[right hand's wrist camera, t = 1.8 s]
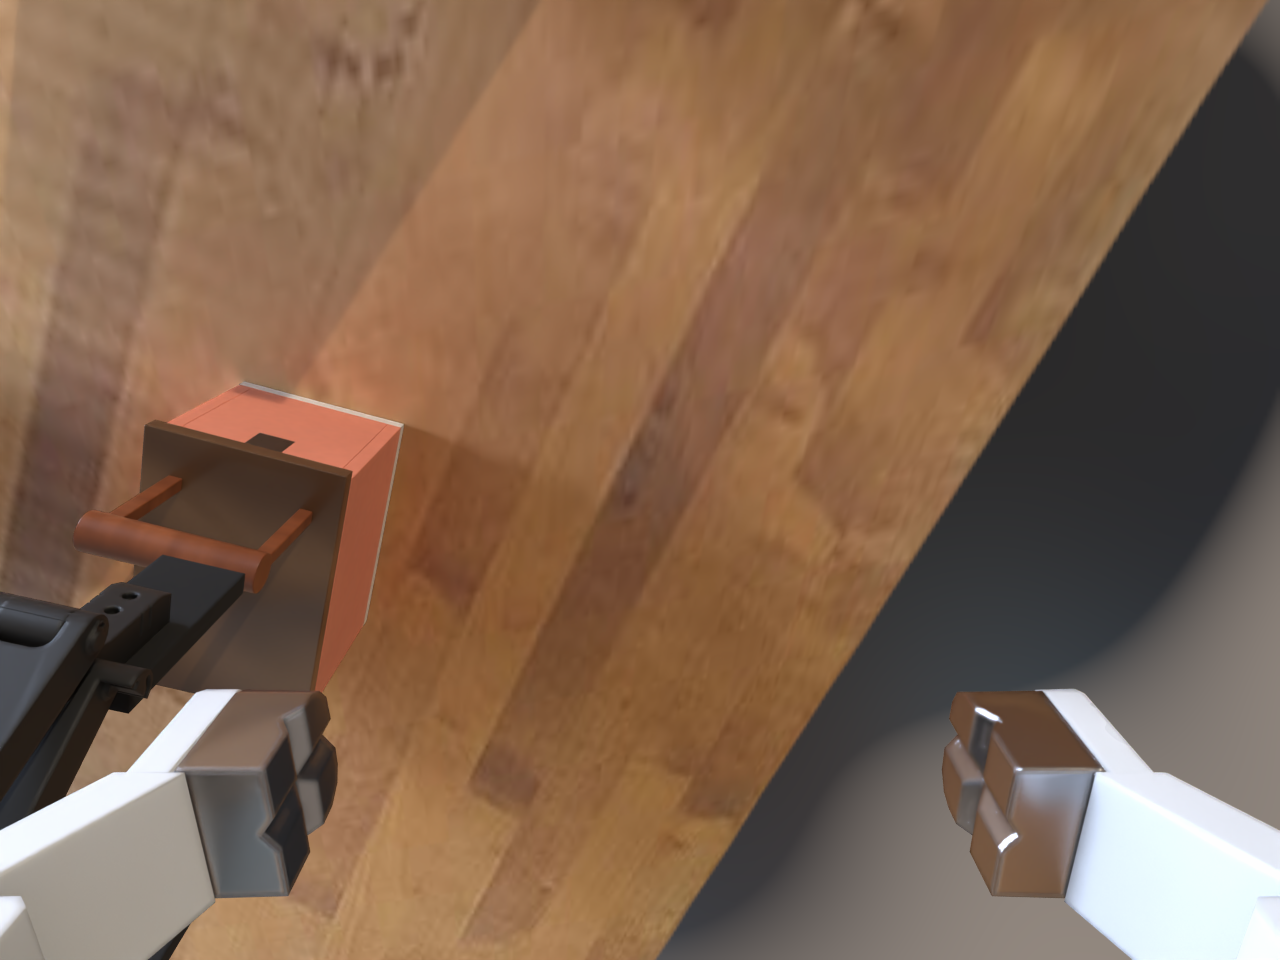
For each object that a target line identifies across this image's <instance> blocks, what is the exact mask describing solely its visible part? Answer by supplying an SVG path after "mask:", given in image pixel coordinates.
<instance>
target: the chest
mask: <svg viewBox="0 0 1280 960" xmlns="http://www.w3.org/2000/svg"><path fill="white" fill-rule="evenodd" d="M167 423H170V424H174V425H178V426H181V427H185V428H189V429H193V430H197V431H201V432H205V433H208V434H212V435H216V436H220V437H224V438H228V439H232V440H235V441H239V442H243V443H247V444H251V445H255V446H258V447H262V448H266V449H270V450H274V451H278V452H282V453H285V454H289V455H293V456H297V457H301V458H305V459H308V460H312V461H316V462H320V463H324V464H328V465H332V466H335V467H339V468H343V469H347V470H351V471H352V472H353V473H352V479H351V484H350V490H349V496H348V502H347V508H346V513H345V519H344V525H343V531H342V537H341V542H340V548H339V554H338V560H337V566H336V571H335V577H334V583H333V589H332V595H331V600H330V606H329V612H328V618H327V624H326V629H325V635H324V641H323V647H322V653H321V658H320V664H319V670H318V676H317V682H316V687H315V691H320V692H321V693H322V692H323V690H324V688H325V687H326V685H327V683H328V682H329V680H330V679H331V677H332V675H333V674H334V672H335V670H336V669H337V667H338V666H339V664H340V662H341V661H342V659H343V657H344V656H345V654H346V653H347V651H348V649H349V648H350V646H351V644H352V643H353V641H354V640H355V638H356V636H357V635H358V633H359V632H360V630H361V628H362V627H363V626H364V624H365V622H366V621H367V616H368V611H369V605H370V600H371V595H372V590H373V585H374V579H375V574H376V569H377V564H378V559H379V553H380V548H381V543H382V538H383V532H384V527H385V522H386V517H387V512H388V506H389V501H390V496H391V491H392V486H393V480H394V475H395V470H396V465H397V460H398V454H399V449H400V444H401V439H402V434H403V428H404V424H402V423H398V422H394V421H390V420H387V419H383V418H379V417H376V416H372V415H368V414H364V413H361V412H357V411H353V410H349V409H346V408H342V407H338V406H334V405H331V404H327V403H323V402H319V401H316V400H312V399H308V398H304V397H301V396H297V395H293V394H289V393H286V392H282V391H278V390H274V389H271V388H267V387H263V386H260V385H256V384H252V383H248V382H245V381H244V382H242V383H240V384H239V385H238V386H236V387H234V388H232V389H230V390H228V391H227V392H225V393H223V394H221V395H219V396H217V397H215V398H213V399H211V400H209V401H207V402H205V403H203V404H201V405H200V406H198V407H196V408H194V409H192V410H190V411H188V412H186V413H184V414H182V415H180V416H178V417H176V418H174V419H173V420H171V421H169V422H167Z"/></svg>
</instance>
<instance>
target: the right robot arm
mask: <svg viewBox="0 0 1280 960" xmlns="http://www.w3.org/2000/svg"><path fill="white" fill-rule="evenodd" d="M330 719H331V718H330V713H329V708H328V703H327V698H326V696H324V695H323V694H322V693H321V692H320V691H298V690H251V689H245V690H240V689H206V690H203V691H200V692H197V693H195V694H194V695H193V697H192V698H191V699H190V700H189V701H188V702H187V703H186V705H185V706H184V707H183V708H182V709H181V710H180V712H179V713H178V714H177V715H176V716H175V717H174V718H173V720H172V721H171V722H170V723H169V724H168V725H167V726H166V728H165V729H164V730H163V731H162V732H161V733H160V734H159V736H158V737H157V738H156V739H155V740H154V741H153V742H152V744H151V745H150V746H149V747H148V748H147V749H146V750H145V752H144V753H143V754H142V755H141V756H140V757H139V758H138V760H137V761H136V762H135V763H134V764H133V765H132V766H131V768H130V769H129V770H128V771H127V772H113V773H111V774H110V775H108V776H106V777H104V778H102V779H100V780H98V781H96V782H94V783H92V784H90V785H88V786H86V787H84V788H82V789H80V790H78V791H76V792H74V793H72V794H70V795H68V796H67V797H65V798H63V799H61V800H59V801H57V802H55V803H53V804H51V805H49V806H47V807H45V808H43V809H41V810H39V811H37V812H35V813H33V814H31V815H29V816H27V817H25V818H23V819H22V820H20V821H18V822H16V823H14V824H12V825H10V826H8V827H6V828H4V829H2V830H0V960H148V959H149V958H150V957H152V956H153V955H154V954H155V953H156V952H157V951H159V950H160V949H161V948H162V947H163V946H164V945H166V944H167V943H168V942H169V941H170V940H172V939H173V938H174V937H175V936H176V935H177V934H179V933H180V932H181V931H182V930H183V929H184V928H186V927H187V926H188V925H189V924H190V923H191V922H193V921H194V920H195V919H196V918H197V917H199V916H200V915H201V914H202V913H203V912H204V911H206V910H207V909H208V908H209V907H210V906H211V905H213V904H214V903H215V898H238V897H272V896H288V895H289V893H290V891H291V889H292V887H293V885H294V883H295V881H296V879H297V877H298V875H299V873H300V871H301V869H302V867H303V865H304V863H305V861H306V859H307V857H308V855H309V853H310V847H309V842H308V836H307V835H309V834H310V833H312V832H313V831H314V830H316V829H317V828H319V827H320V826H321V825H323V824H324V822H325V820H326V818H327V816H328V814H329V812H330V809H331V807H332V805H333V800H334V796H335V791H336V786H337V775H338V763H337V756H336V749H335V747H334V746H333V745H332V744H331V743H330V742H329V741H328V740H327V739H326V738H325V737H324V736H323V735H322V734H323V732H324V730H325V728H326V726H327V725H328V723H329V721H330ZM949 719H950V721H951V723H952V725H953V726H954V728H955V730H956V732H957V733H958V735H957V736H956V737H955V738H954V739H953V740H952V741H951V742H950V743H949V744H948V745H947V746H946V747H945V749H944V757H943V766H942V775H943V786H944V793H945V797H946V800H947V804H948V807H949V810H950V812H951V814H952V816H953V818H954V820H955V822H956V824H957V825H959V826H960V827H961V828H963V829H964V830H966V831H967V832H969V833H970V834H971V835H973V836H972V842H971V848H970V853H971V855H972V857H973V859H974V861H975V863H976V865H977V867H978V869H979V871H980V873H981V875H982V877H983V879H984V881H985V883H986V885H987V887H988V889H989V891H990V893H991V895H992V896H1006V897H1042V898H1065V903H1067V904H1068V905H1069V906H1070V907H1071V908H1073V909H1074V910H1075V911H1076V912H1077V913H1078V914H1080V915H1081V916H1082V917H1083V918H1084V919H1085V920H1087V921H1088V922H1089V923H1090V924H1091V925H1092V926H1094V927H1095V928H1096V929H1097V930H1098V931H1099V932H1101V933H1102V934H1103V935H1104V936H1105V937H1107V938H1108V939H1109V940H1110V941H1111V942H1112V943H1113V944H1115V945H1116V946H1117V947H1118V948H1119V949H1121V950H1122V951H1123V952H1124V953H1125V954H1126V955H1128V956H1129V957H1130V958H1131V959H1132V960H1280V830H1278V829H1276V828H1274V827H1272V826H1270V825H1268V824H1266V823H1264V822H1262V821H1260V820H1258V819H1256V818H1254V817H1252V816H1250V815H1248V814H1247V813H1244V812H1243V811H1241V810H1239V809H1237V808H1235V807H1233V806H1231V805H1229V804H1227V803H1225V802H1223V801H1221V800H1219V799H1217V798H1215V797H1213V796H1211V795H1209V794H1208V793H1206V792H1204V791H1202V790H1200V789H1198V788H1196V787H1194V786H1192V785H1190V784H1188V783H1186V782H1184V781H1182V780H1180V779H1178V778H1176V777H1174V776H1172V775H1170V774H1168V773H1166V772H1153V771H1152V770H1151V769H1150V768H1149V767H1148V765H1147V764H1146V763H1145V762H1144V761H1143V760H1142V758H1141V757H1140V756H1139V755H1138V754H1137V753H1136V752H1135V750H1134V749H1133V748H1132V747H1131V746H1130V745H1129V744H1128V743H1127V741H1126V740H1125V739H1124V738H1123V737H1122V736H1121V734H1120V733H1119V732H1118V731H1117V730H1116V729H1115V728H1114V726H1113V725H1112V724H1111V723H1110V722H1109V721H1108V720H1107V718H1106V717H1105V716H1104V715H1103V714H1102V713H1101V712H1100V710H1099V709H1098V708H1097V707H1096V706H1095V705H1094V704H1093V702H1092V701H1091V700H1090V699H1089V698H1088V697H1087V696H1086V694H1084V693H1083V692H1081V691H1079V690H1076V689H1050V690H1035V691H990V692H957V694H956V696H955V698H954V700H953V702H952V706H951V712H950V718H949Z"/></svg>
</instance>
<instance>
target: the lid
mask: <svg viewBox="0 0 1280 960" xmlns="http://www.w3.org/2000/svg"><path fill="white" fill-rule="evenodd" d="M352 473H353V472H352V471H351V470H347V469H343V468H339V467H335V466H332V465H328V464H324V463H320V462H316V461H312V460H308V459H305V458H301V457H297V456H293V455H289V454H285V453H282V452H278V451H274V450H270V449H266V448H262V447H258V446H255V445H251V444H247V443H243V442H239V441H235V440H232V439H228V438H224V437H220V436H216V435H212V434H208V433H205V432H201V431H197V430H193V429H189V428H185V427H181V426H178V425H174V424H170V423H166V422H162V421H158V420H154V421H152V422H150V423H148V424H146V425H145V429H144V442H143V456H142V469H141V482H140V494H138V495H137V496H135V497H134V498H132V499H130V500H129V501H127V502H126V503H124V504H122V505H121V506H119V507H118V508H116V509H115V510H113V511H111V512H110V513H106V512H102V511H98V510H90V511H88V512H86V513H85V514H84V515H83V516H82V517H81V519H80V520H79V522H78V524H77V526H76V528H75V531H74V535H73V545H74V548H75V549H76V550H77V551H80V552H84V553H88V554H92V555H97V556H101V557H105V558H109V559H113V560H117V561H121V562H126V563H130V564H134V576H133V578H134V577H135V576H136V575H137V574H139V573H140V572H141V571H142V570H144V569H145V568H146V567H147V566H149V565H150V564H151V563H152V562H154V561H155V560H156V559H158V558H159V557H160V556H161V555H166V556H171V557H175V558H180V559H184V560H188V561H193V562H197V563H201V564H206V565H210V566H214V567H219V568H223V569H227V570H232V571H236V572H240V573H245V581H244V590H243V594H242V595H241V596H240V597H239V598H238V599H237V600H236V601H235V602H234V603H233V604H232V605H231V606H230V607H229V608H228V610H227V611H226V612H225V613H224V614H223V615H222V616H221V617H220V618H219V619H218V620H217V621H216V622H215V623H214V624H213V625H212V626H211V627H210V628H209V629H208V631H207V632H206V633H205V634H204V635H203V636H202V637H201V638H200V639H199V640H198V641H197V642H196V643H195V644H194V645H193V646H192V647H191V648H190V649H189V650H188V652H187V653H186V654H185V655H184V656H183V657H182V658H181V659H180V660H179V661H178V662H177V663H176V664H175V665H174V666H173V667H172V668H171V669H170V670H169V671H168V673H167V674H166V675H165V676H164V677H163V678H162V679H161V680H160V681H159V682H158V683H157V684H156V685H160V686H164V687H169V688H173V689H177V690H182V691H186V692H191V693H197V692H200V691H203V690H206V689H240V690H245V689H251V690H298V691H315V687H316V682H317V676H318V670H319V664H320V658H321V653H322V647H323V641H324V635H325V629H326V624H327V618H328V612H329V606H330V600H331V595H332V589H333V583H334V577H335V571H336V566H337V560H338V554H339V548H340V542H341V537H342V531H343V525H344V519H345V513H346V508H347V502H348V496H349V490H350V484H351V479H352Z"/></svg>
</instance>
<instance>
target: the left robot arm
mask: <svg viewBox="0 0 1280 960" xmlns="http://www.w3.org/2000/svg"><path fill="white" fill-rule="evenodd" d="M244 581H245V573H240V572H236V571H232V570H227V569H223V568H219V567H214V566H210V565H206V564H201V563H197V562H193V561H188V560H184V559H180V558H175V557H171V556H166V555H161V556H160V557H159V558H158V559H156V560H155V561H154V562H152V563H151V564H150V565H149V566H147V567H146V568H145V569H144V570H142V571H141V572H140V573H139V574H137V575H136V576H135V577H134V578H132V579H131V580H130V581H129V582H127V583H123V582H120V583H116V584H111V585H110V586H109V587H107V588H106V589H105V590H104V591H102V592H101V593H100V595H97V596H96V597H94V598H93V599H92V600H91V601H90V603H87V604H85V605H84V606H83V607H82V608H80V609H77V608H73V607H68V606H64V605H59V604H55V603H50V602H46V601H41V600H37V599H32V598H28V597H23V596H18V595H14V594H9V593H5V592H0V830H2V829H4V828H6V827H8V826H10V825H12V824H14V823H16V822H18V821H20V820H22V819H23V818H25V817H27V816H29V815H31V814H33V813H35V812H37V811H39V810H41V809H43V808H45V807H47V806H49V805H51V804H53V803H55V802H57V801H59V800H61V799H63V798H65V796H66V794H67V792H68V790H69V788H70V786H71V784H72V782H73V780H74V778H75V776H76V774H77V772H78V770H79V768H80V766H81V764H82V762H83V760H84V758H85V756H86V754H87V752H88V750H89V748H90V746H91V744H92V742H93V740H94V738H95V736H96V734H97V732H98V730H99V728H100V726H101V724H102V721H103V719H104V717H105V715H106V713H107V711H108V709H110V710H114V711H119V712H124V713H128V714H129V712H130V711H131V710H132V709H133V708H134V707H135V706H136V705H137V704H138V703H139V702H140V701H141V700H142V699H143V698H148V696H149V693H150V691H151V689H152V688H153V687H154V686H155V685H156V684H157V683H158V682H159V681H160V680H161V679H162V678H163V677H164V676H165V675H166V674H167V673H168V671H169V670H170V669H171V668H172V667H173V666H174V665H175V664H176V663H177V662H178V661H179V660H180V659H181V658H182V657H183V656H184V655H185V654H186V653H187V652H188V650H189V649H190V648H191V647H192V646H193V645H194V644H195V643H196V642H197V641H198V640H199V639H200V638H201V637H202V636H203V635H204V634H205V633H206V632H207V631H208V629H209V628H210V627H211V626H212V625H213V624H214V623H215V622H216V621H217V620H218V619H219V618H220V617H221V616H222V615H223V614H224V613H225V612H226V611H227V610H228V608H229V607H230V606H231V605H232V604H233V603H234V602H235V601H236V600H237V599H238V598H239V597H240V596H241V595H242V594H243V590H244ZM190 924H191V923H190ZM190 924H189V925H190ZM189 925H188V926H187V927H186V928H184V929H183V930H182V931H181V932H180V933H179V934H177V935H176V936H175V937H174V938H173V939H172V940H170V941H169V942H168V943H167V944H166V945H164V946H163V947H162V948H161V949H160V950H159V951H157V952H156V953H155V954H154V955H153V956H152V957H150V958H149V959H148V960H169V959H170V957H171V955H172V954H173V952H174V950H175V949H176V947H177V945H178V944H179V942H180V940H181V939H182V937H183V935H184V934H185V932H186V930H187V929H188V927H189Z"/></svg>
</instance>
